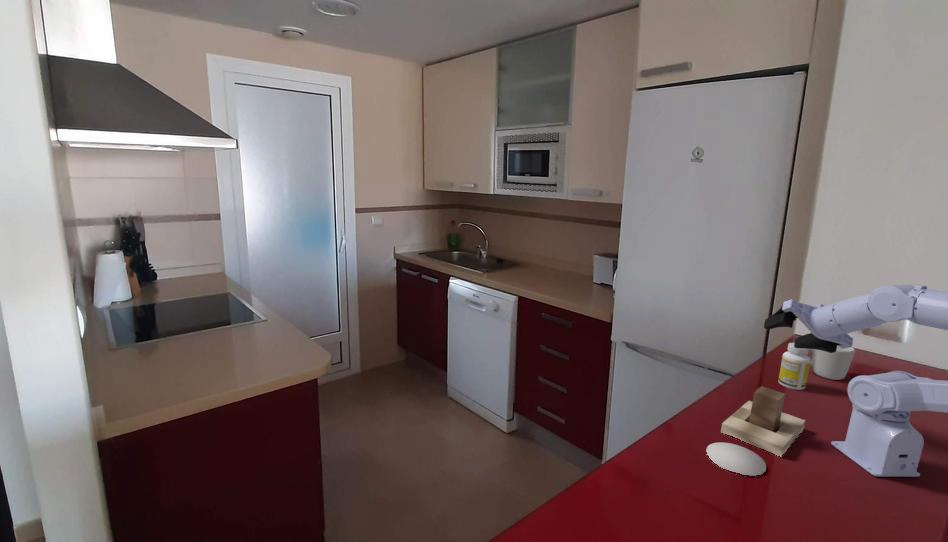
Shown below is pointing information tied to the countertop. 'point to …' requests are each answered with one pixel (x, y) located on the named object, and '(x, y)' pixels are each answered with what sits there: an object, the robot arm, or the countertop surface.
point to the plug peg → (767, 408)
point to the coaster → (736, 459)
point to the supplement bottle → (794, 368)
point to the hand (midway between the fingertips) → (780, 333)
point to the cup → (832, 362)
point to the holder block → (763, 430)
